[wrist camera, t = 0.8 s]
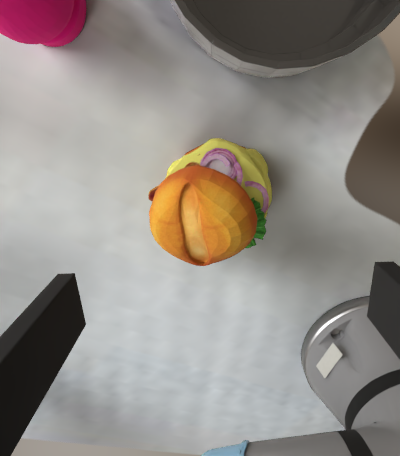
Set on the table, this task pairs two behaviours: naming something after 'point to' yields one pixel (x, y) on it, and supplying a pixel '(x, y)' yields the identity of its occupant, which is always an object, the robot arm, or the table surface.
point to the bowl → (282, 31)
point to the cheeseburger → (211, 203)
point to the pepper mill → (42, 20)
